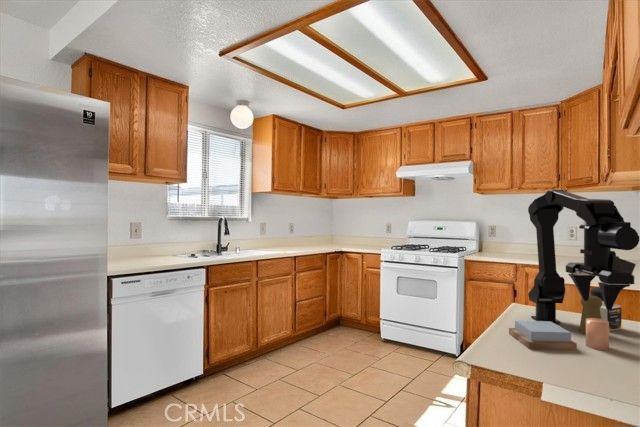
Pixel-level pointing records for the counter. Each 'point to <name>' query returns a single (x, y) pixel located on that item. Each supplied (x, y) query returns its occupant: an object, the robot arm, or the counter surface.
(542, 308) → the robot arm
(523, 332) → the slate slab
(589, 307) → the olive green tapered piece
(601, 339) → the terracotta cylinder
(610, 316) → the medicine bottle
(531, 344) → the walnut slab
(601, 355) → the counter surface
